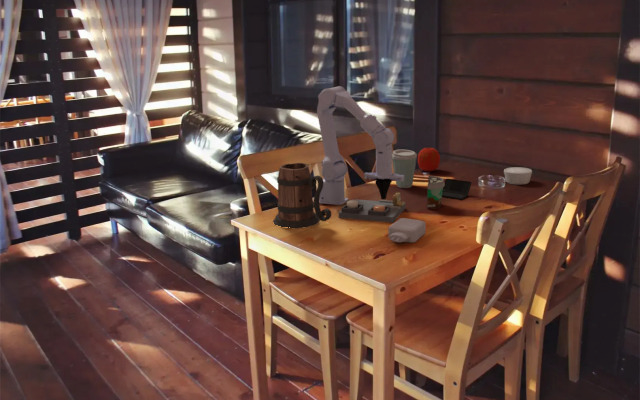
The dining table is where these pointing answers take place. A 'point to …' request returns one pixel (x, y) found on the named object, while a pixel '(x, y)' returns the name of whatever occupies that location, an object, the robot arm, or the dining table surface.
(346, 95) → the robot arm
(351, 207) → the cream button
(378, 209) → the terracotta button
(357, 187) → the dining table surface
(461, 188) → the handheld gaming console
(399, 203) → the tall mustard sponge block
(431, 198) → the food container
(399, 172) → the disposable coffee cup
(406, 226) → the grey plastic bottle
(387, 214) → the control panel
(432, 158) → the apple
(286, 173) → the tankard
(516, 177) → the ramekin
